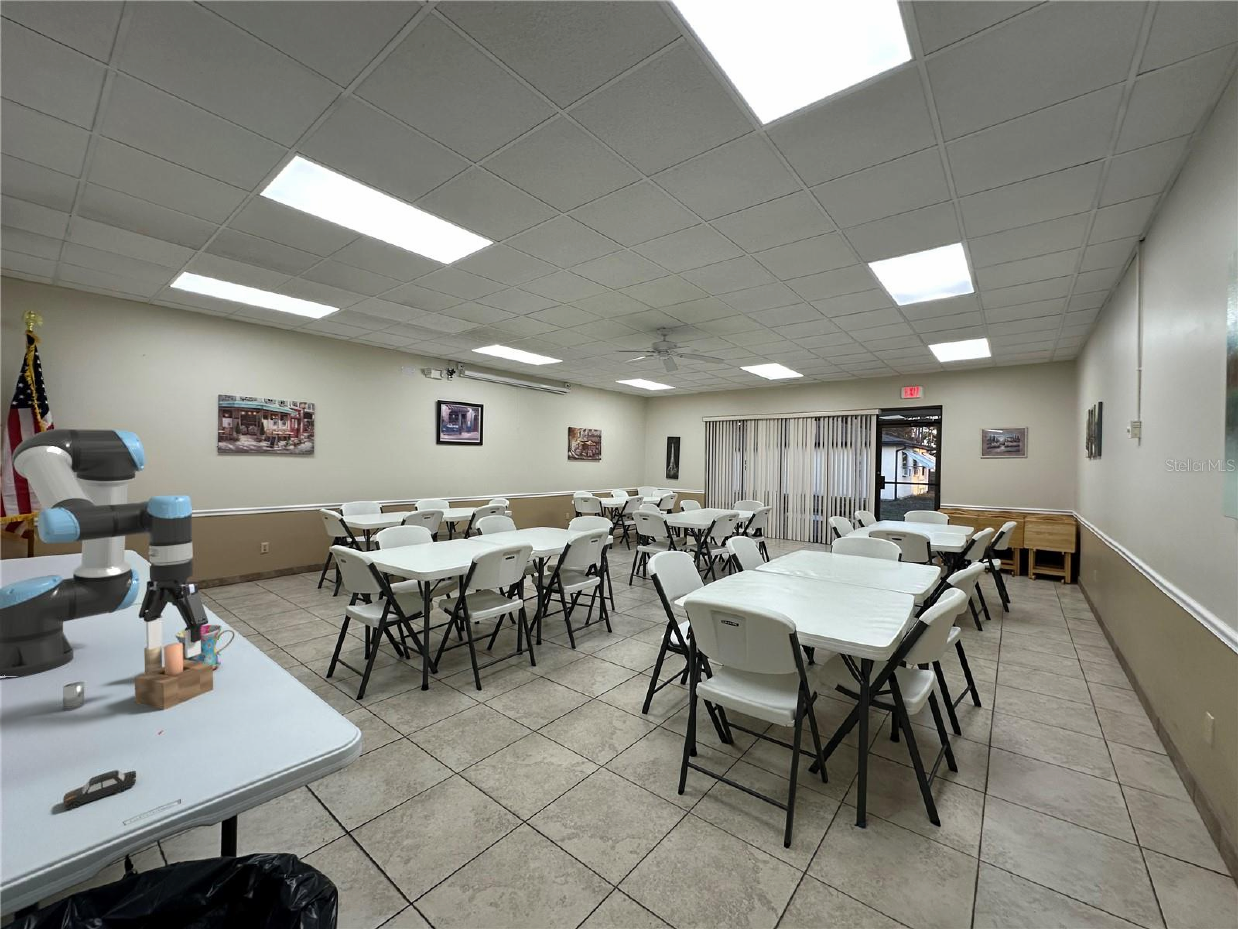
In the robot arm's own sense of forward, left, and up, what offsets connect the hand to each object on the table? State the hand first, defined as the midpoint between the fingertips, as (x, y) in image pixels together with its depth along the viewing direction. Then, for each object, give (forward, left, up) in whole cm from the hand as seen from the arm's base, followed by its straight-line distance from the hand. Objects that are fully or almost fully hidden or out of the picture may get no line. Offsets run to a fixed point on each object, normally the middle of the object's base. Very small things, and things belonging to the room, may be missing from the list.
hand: (173, 651), depth 117 cm
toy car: (+29, -25, -11) cm, 40 cm away
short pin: (-16, -11, -10) cm, 22 cm away
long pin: (0, 0, -10) cm, 11 cm away
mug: (-9, +12, -11) cm, 19 cm away
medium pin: (-16, +4, -10) cm, 19 cm away
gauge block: (0, 0, -10) cm, 10 cm away
